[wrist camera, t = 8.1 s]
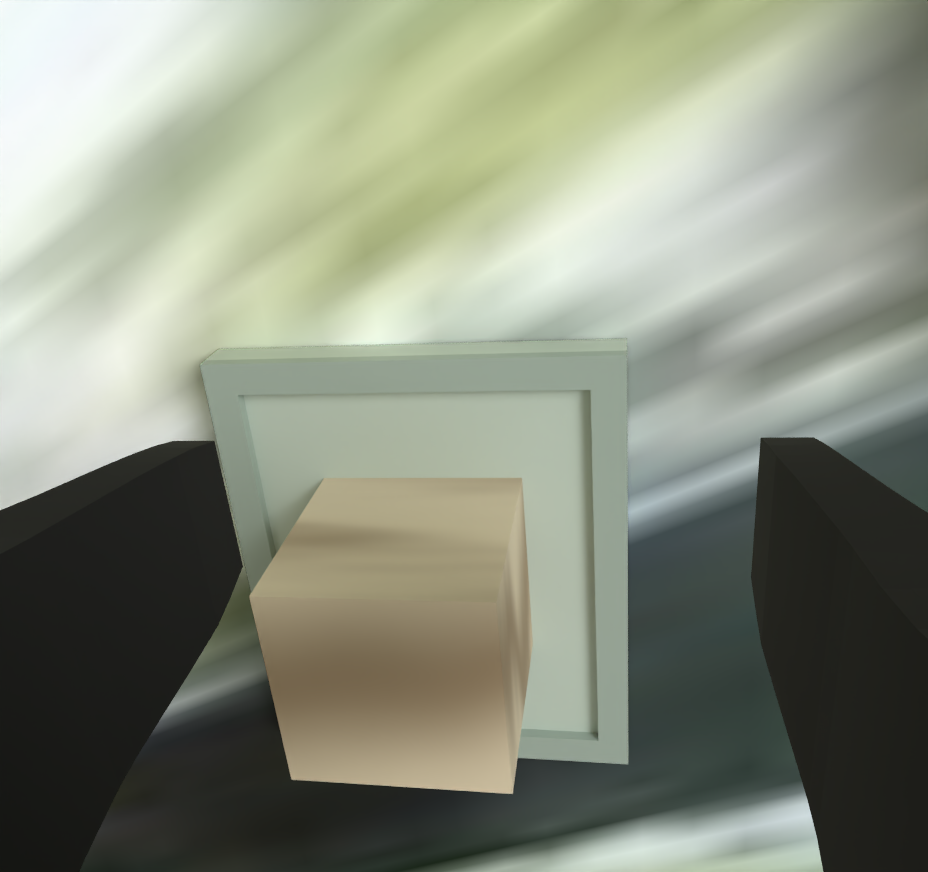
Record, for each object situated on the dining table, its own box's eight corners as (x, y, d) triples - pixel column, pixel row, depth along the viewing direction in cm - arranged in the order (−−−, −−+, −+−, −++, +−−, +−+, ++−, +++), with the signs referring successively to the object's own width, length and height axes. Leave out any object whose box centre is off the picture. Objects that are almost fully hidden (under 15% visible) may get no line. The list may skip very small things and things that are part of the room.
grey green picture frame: (627, 734, 25) (628, 764, 24) (297, 717, 27) (285, 743, 26) (626, 338, 20) (627, 355, 19) (218, 348, 22) (199, 364, 21)
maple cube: (532, 643, 23) (512, 793, 19) (352, 637, 24) (291, 779, 20) (522, 477, 21) (496, 602, 16) (324, 478, 22) (248, 596, 17)
